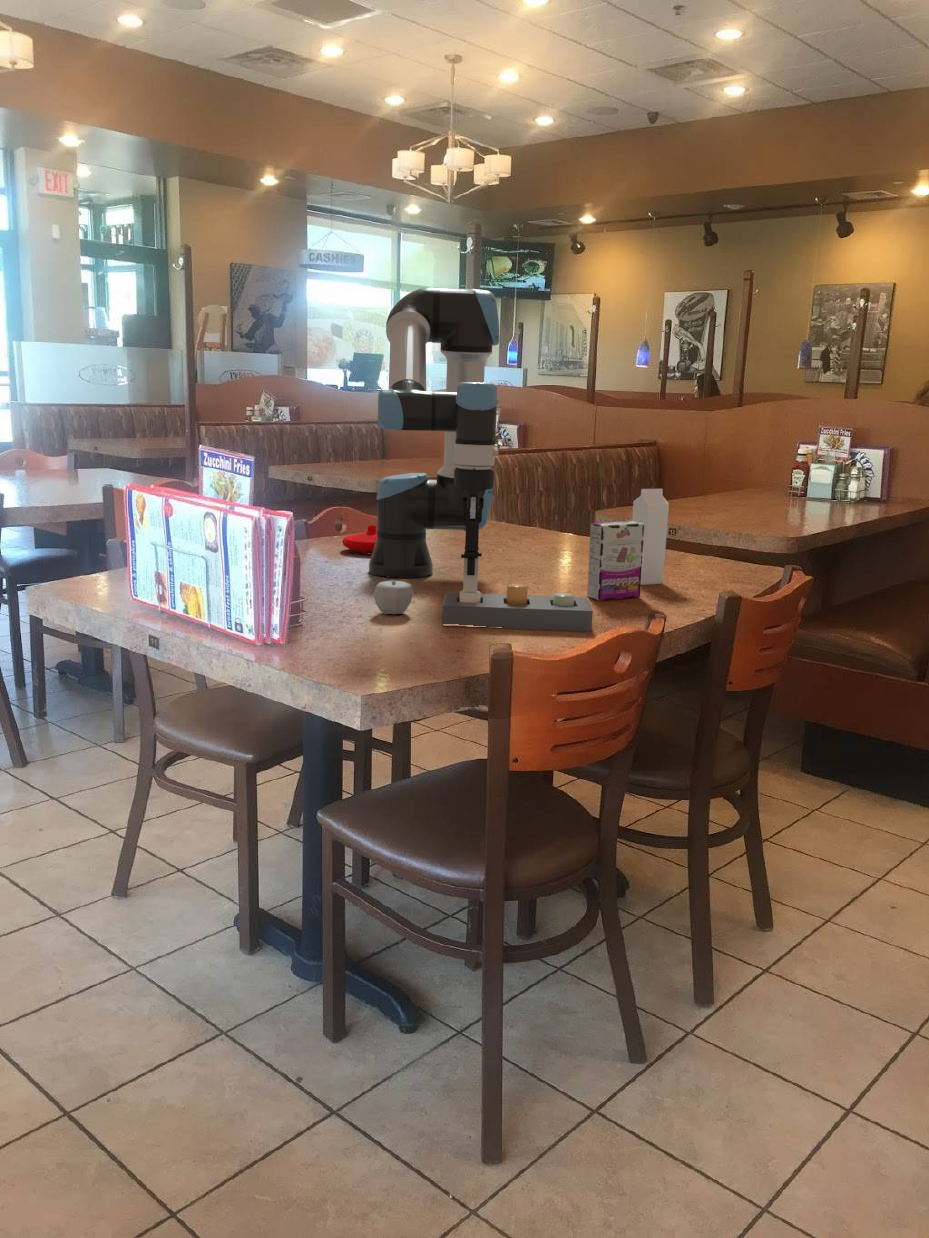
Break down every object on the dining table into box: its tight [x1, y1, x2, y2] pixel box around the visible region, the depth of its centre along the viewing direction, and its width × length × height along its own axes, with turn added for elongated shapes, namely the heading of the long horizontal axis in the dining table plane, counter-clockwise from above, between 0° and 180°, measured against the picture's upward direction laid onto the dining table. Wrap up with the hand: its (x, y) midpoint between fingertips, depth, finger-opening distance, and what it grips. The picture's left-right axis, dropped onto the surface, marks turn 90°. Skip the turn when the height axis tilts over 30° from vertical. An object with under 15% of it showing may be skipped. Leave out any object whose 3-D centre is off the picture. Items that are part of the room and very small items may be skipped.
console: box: [441, 592, 594, 633], centre depth 193 cm, size 28×12×4 cm, turn 89°
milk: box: [631, 488, 670, 586], centre depth 234 cm, size 6×6×22 cm
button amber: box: [506, 583, 529, 605], centre depth 192 cm, size 4×4×4 cm
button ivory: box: [459, 589, 482, 603], centre depth 193 cm, size 4×4×4 cm
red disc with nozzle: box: [341, 524, 377, 554], centre depth 265 cm, size 16×16×7 cm
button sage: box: [552, 592, 575, 606], centre depth 192 cm, size 4×4×4 cm
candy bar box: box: [586, 520, 644, 602], centre depth 216 cm, size 11×5×16 cm, turn 117°
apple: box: [373, 580, 414, 615], centre depth 196 cm, size 8×8×7 cm
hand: (470, 590), depth 192 cm, fingers closed
